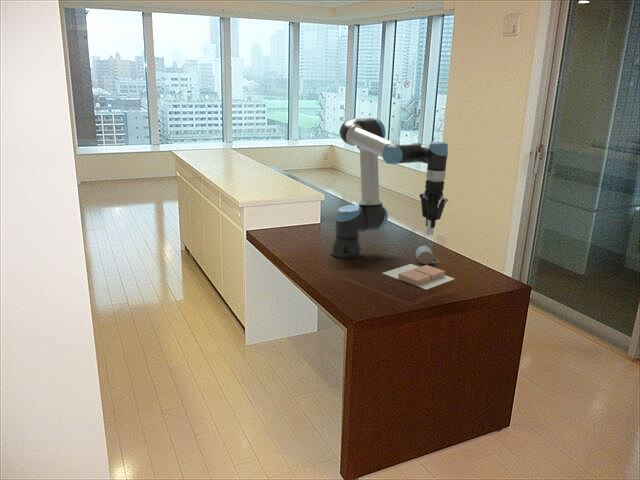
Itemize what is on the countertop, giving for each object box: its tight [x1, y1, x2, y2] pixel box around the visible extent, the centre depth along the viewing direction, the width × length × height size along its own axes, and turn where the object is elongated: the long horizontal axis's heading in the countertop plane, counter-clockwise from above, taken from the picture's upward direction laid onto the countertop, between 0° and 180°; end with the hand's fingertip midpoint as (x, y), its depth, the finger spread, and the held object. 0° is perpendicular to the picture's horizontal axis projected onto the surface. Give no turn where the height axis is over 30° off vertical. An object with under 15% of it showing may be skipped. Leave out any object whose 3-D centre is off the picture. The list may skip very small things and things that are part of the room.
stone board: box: [382, 263, 455, 290], centre depth 229 cm, size 24×20×1 cm
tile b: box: [413, 264, 446, 280], centre depth 230 cm, size 2×9×10 cm
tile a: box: [397, 270, 431, 286], centre depth 223 cm, size 2×9×10 cm
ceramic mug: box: [415, 245, 440, 265], centre depth 247 cm, size 11×8×8 cm
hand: (429, 234), depth 226 cm, fingers closed
